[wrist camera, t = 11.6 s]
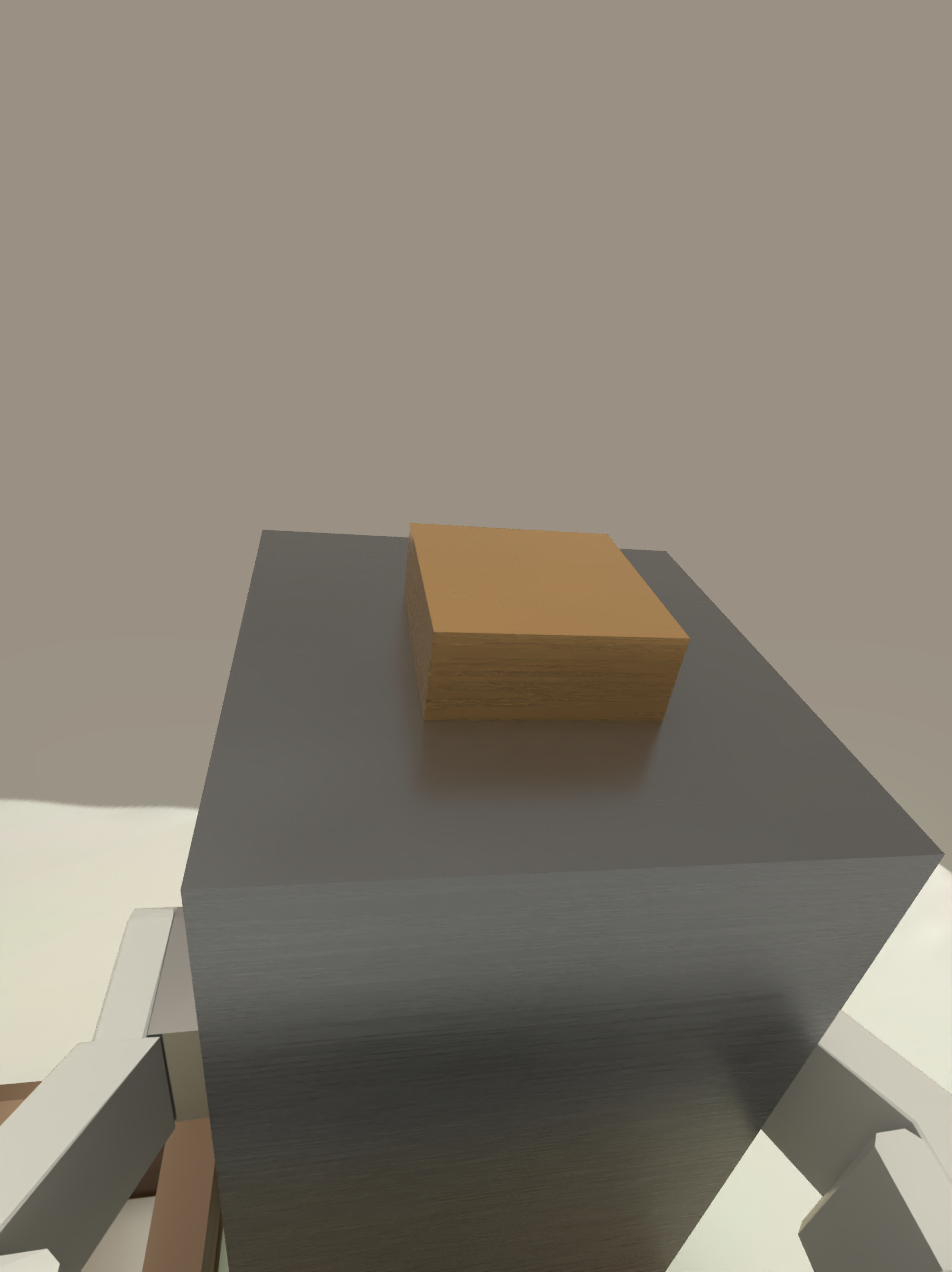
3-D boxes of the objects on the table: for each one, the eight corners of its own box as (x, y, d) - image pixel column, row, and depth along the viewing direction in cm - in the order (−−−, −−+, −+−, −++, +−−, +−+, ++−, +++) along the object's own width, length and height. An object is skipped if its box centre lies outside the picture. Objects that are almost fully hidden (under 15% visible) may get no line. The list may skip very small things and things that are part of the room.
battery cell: (252, 1457, 10) (168, 781, 3) (278, 1084, 14) (260, 461, 8) (586, 1389, 11) (1003, 767, 4) (518, 1059, 15) (682, 491, 9)
